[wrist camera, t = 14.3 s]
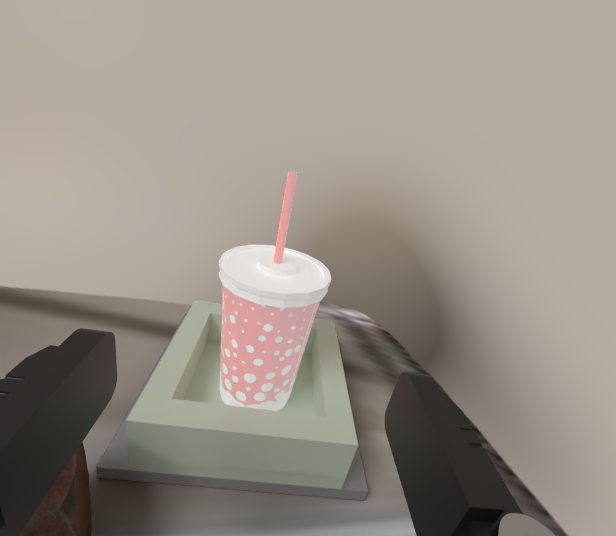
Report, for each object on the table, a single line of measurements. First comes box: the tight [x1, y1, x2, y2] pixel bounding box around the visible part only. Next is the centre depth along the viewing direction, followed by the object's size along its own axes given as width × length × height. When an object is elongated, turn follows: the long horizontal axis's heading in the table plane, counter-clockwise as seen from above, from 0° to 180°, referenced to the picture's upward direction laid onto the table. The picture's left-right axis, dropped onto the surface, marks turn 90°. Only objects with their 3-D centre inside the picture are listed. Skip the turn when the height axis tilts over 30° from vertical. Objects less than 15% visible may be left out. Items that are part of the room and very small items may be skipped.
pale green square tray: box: [96, 300, 368, 501], centre depth 22 cm, size 14×14×4 cm
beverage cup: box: [218, 171, 331, 411], centre depth 18 cm, size 6×6×14 cm
